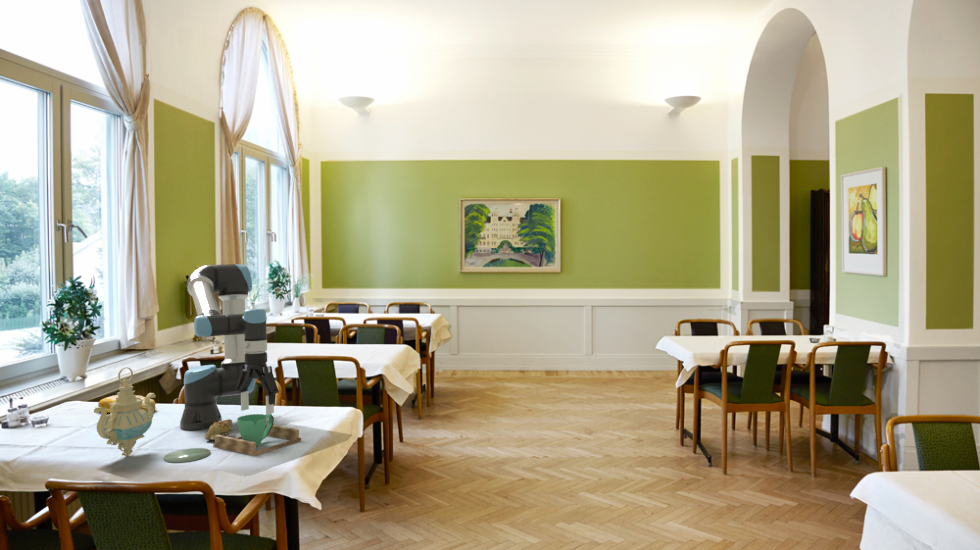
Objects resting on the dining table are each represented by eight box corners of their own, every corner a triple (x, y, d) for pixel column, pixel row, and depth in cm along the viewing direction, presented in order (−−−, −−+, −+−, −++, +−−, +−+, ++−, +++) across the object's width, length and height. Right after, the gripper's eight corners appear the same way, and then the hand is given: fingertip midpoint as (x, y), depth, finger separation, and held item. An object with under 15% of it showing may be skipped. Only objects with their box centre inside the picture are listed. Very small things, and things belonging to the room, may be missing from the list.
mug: (252, 450, 210) (252, 422, 210) (231, 448, 214) (230, 419, 214) (282, 439, 224) (282, 412, 223) (262, 437, 227) (261, 410, 227)
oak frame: (213, 446, 216) (213, 435, 216) (260, 433, 233) (260, 422, 233) (254, 455, 205) (254, 443, 204) (300, 440, 222) (300, 429, 222)
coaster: (154, 458, 203) (154, 456, 203) (194, 447, 215) (194, 445, 215) (180, 465, 196) (179, 463, 196) (219, 453, 208) (219, 451, 208)
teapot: (112, 468, 193) (109, 374, 193) (82, 466, 196) (80, 373, 195) (168, 446, 216) (166, 362, 216) (141, 445, 219) (139, 361, 219)
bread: (117, 409, 278) (117, 391, 278) (164, 412, 270) (163, 394, 270) (90, 416, 265) (89, 397, 265) (138, 419, 257) (138, 401, 257)
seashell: (208, 443, 228) (218, 417, 233) (229, 447, 229) (239, 421, 233) (200, 437, 220) (211, 411, 225) (223, 442, 220) (233, 415, 225)
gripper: (224, 351, 222) (225, 410, 222) (270, 355, 209) (272, 417, 209) (242, 349, 228) (243, 406, 228) (288, 352, 215) (289, 412, 215)
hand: (257, 411), depth 218 cm, fingers open, 13 cm apart
